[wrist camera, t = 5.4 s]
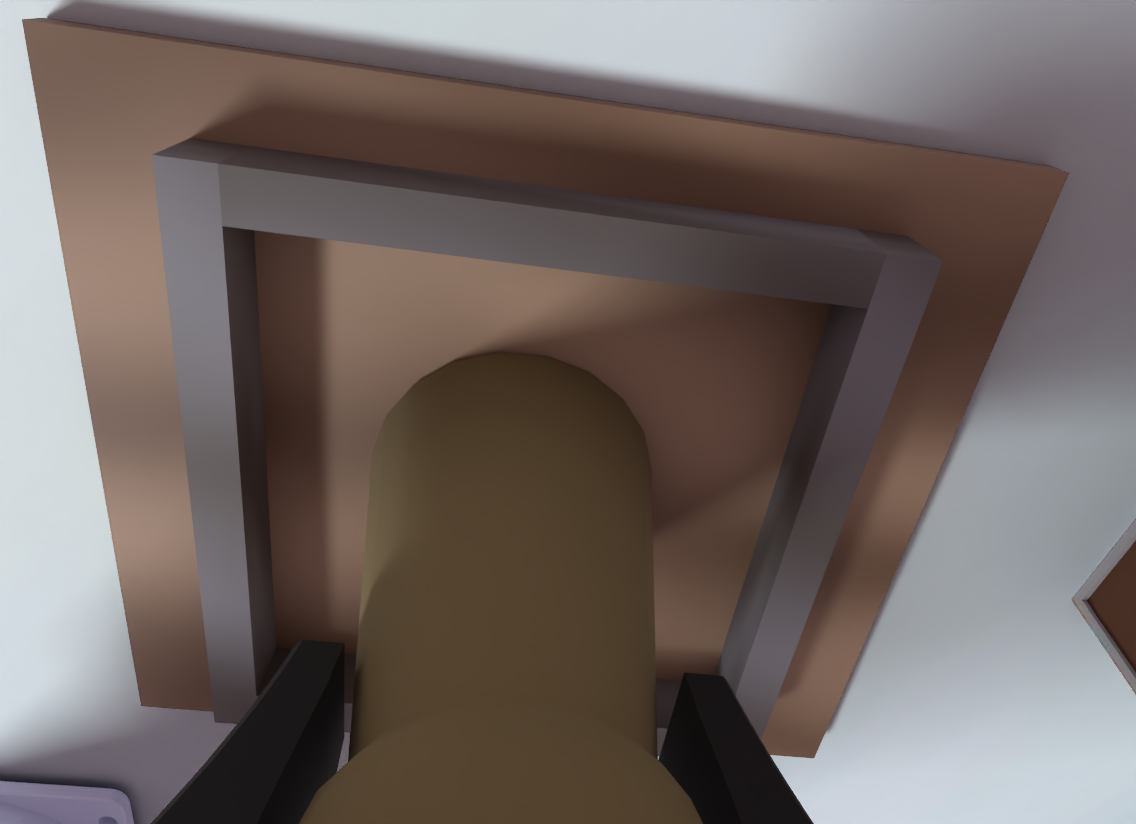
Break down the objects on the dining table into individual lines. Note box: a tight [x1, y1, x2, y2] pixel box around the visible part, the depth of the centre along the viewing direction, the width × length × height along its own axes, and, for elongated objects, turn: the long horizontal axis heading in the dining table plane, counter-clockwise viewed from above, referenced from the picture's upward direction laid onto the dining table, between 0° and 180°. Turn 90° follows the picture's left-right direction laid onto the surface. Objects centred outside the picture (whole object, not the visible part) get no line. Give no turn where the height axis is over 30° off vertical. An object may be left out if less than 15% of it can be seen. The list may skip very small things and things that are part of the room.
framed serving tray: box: [22, 18, 1069, 758], centre depth 17 cm, size 16×18×2 cm
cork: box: [299, 352, 703, 824], centre depth 12 cm, size 6×6×11 cm
